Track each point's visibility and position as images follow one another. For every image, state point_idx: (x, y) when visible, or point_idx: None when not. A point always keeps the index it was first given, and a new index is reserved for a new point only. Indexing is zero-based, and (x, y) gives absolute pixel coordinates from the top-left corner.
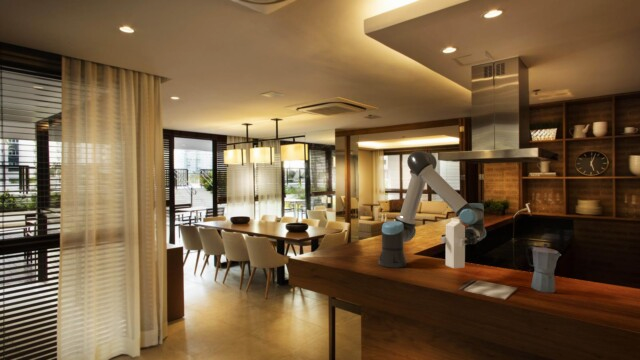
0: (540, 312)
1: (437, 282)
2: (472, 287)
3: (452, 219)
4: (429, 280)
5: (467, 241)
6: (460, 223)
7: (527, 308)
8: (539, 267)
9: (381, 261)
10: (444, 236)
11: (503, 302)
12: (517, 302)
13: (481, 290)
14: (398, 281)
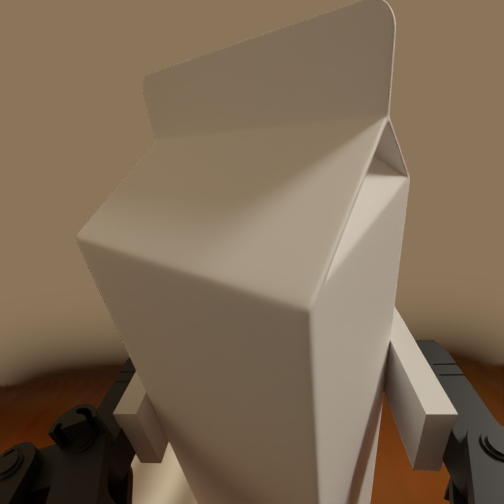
0: (18, 387)
1: (372, 487)
2: (187, 495)
3: (321, 63)
4: (429, 496)
5: (132, 363)
6: (146, 159)
7: (39, 395)
8: None
9: None
10: (409, 337)
11: (95, 400)
12: (42, 432)
13: (148, 470)
14: (473, 369)
